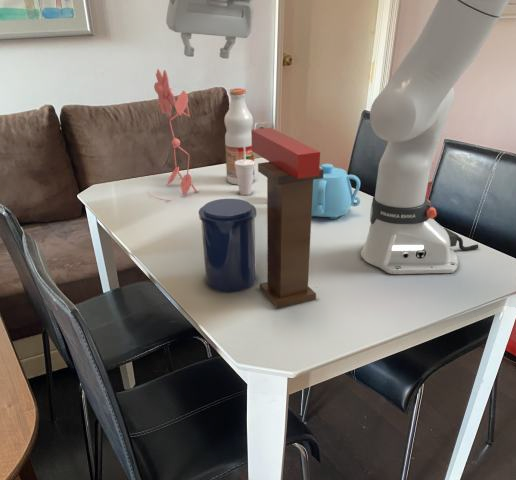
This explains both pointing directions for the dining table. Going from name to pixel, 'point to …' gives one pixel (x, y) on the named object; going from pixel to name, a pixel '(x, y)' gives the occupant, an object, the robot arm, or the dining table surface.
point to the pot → (229, 244)
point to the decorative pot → (333, 193)
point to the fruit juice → (237, 133)
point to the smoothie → (245, 174)
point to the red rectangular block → (286, 152)
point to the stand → (288, 236)
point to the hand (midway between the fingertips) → (206, 56)
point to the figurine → (181, 104)
